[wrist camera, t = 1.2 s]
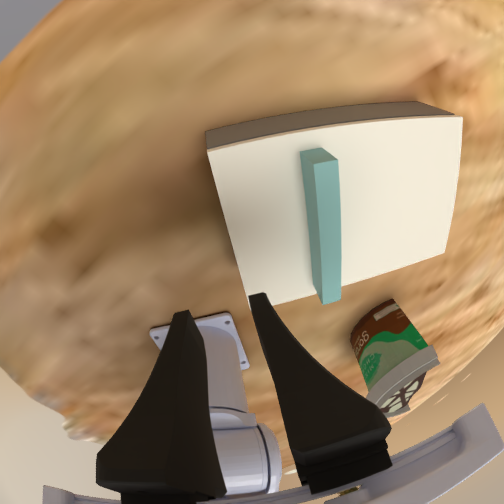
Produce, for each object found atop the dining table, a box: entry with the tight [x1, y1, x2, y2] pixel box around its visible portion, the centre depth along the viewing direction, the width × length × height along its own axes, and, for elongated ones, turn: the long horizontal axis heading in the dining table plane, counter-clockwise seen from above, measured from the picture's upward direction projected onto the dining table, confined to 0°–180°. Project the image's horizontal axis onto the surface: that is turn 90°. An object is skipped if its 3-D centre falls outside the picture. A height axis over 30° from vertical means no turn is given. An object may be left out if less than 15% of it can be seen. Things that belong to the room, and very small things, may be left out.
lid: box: [207, 115, 463, 310], centre depth 16 cm, size 11×16×2 cm
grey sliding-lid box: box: [205, 102, 455, 150], centre depth 19 cm, size 11×16×4 cm
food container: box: [351, 299, 440, 418], centre depth 29 cm, size 12×6×10 cm, turn 10°
